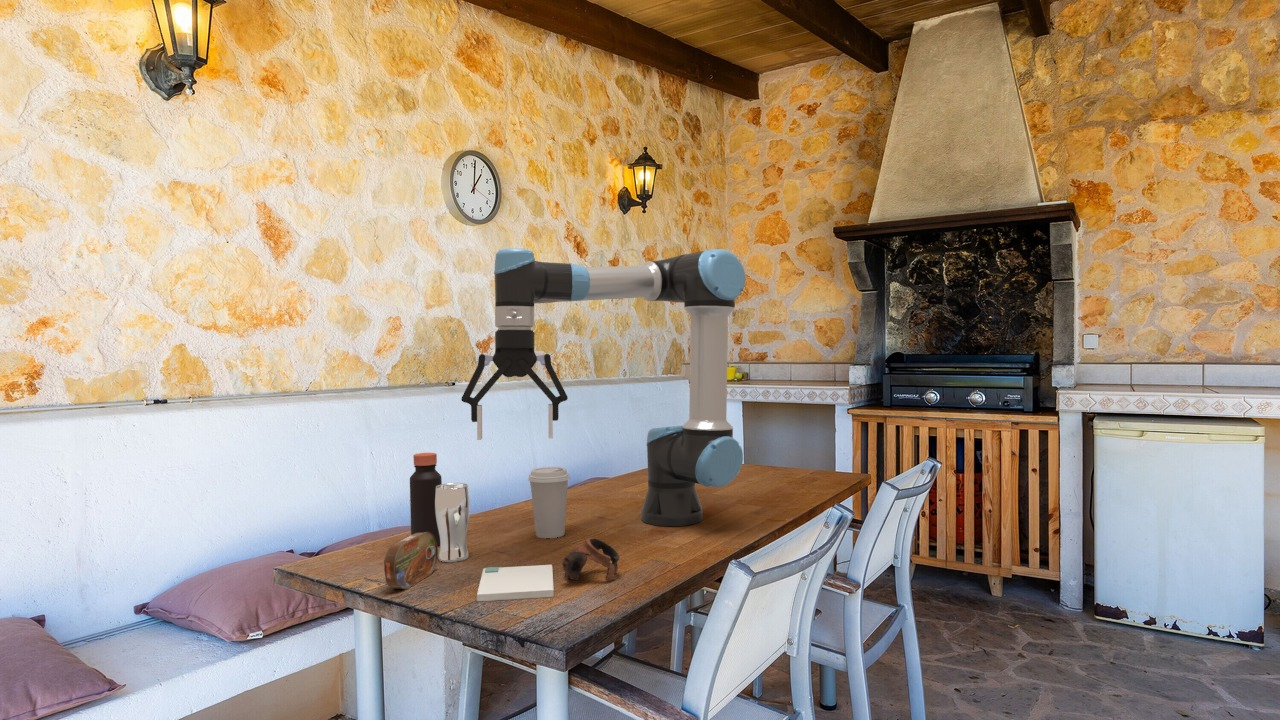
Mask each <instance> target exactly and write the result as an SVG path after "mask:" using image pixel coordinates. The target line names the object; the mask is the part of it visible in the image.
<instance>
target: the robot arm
mask: <svg viewBox="0 0 1280 720" xmlns="http://www.w3.org/2000/svg"><path fill="white" fill-rule="evenodd" d="M493 274H494V293H495V294H494V296H495V298H494V299H495V303H494V323H495V324H494V326H495V327H496V328H497V330H496V331H495V332H494V333H495V334H494V335H495V336H494V338H495V339H494V340H495V341H494V343H495V344H494V349H495V350H494V354H493V355H488V354H484V353H481V354H479V355H478V359H477V360H478V361H477V366H476V368H475V370H474V373H473V374H472V376H471V377H470V380H469V382H468V383H467V386H466V388H465V390H464V392H463V394H462V396H461V401H462V402H463V403H466V404H469V405H470V412H471V413H470V414H471V415H470V416H471V417H470V419H471V422H472V423H477V424H476V430H477V431H476V433H477V435H476V436H477V437H476V440H477V441H479V440H482V439H483V404H479V402H481V400H482V399H483V398H484V396H485V395H486V394H487V393H488V392H489V391H490V390H491V388H492V387H493V386H494V385H495V383H496V382H497V381H498V380H499V379H500V378H501V377H502V375H503V376H504V377H505V378H512V377H517V378H524V377H526V376H527V375H528V377H529V378H530V379H531V380H532V381H533V382H534V383H535V384H536V385H537V387H538V388H539V389H540V390H541V391H542V392H543V394H544V395H545V396H546V397H547V398H548V399H549V401H550V402H551V403H548V407H547V408H548V410H547V411H548V415H547V417H548V439H553V438H554V428H553V427H554V426H553V425H554V423H553V422H555V421H558V420H559V405H560V404H561V403H562V402H566V401H568V398H569V397H568V395H567V393H566V391H565V388H564V387H563V385H562V383H561V381H560V380H559V379H560V378H558V376H557V373H556V371H555V369H554V367H553V365H552V359H551V355H550V354H549V353H545V354H542V355H541V354H540V355H536V353H535V332H534V330H532V328H534V327H535V304H549V303H550V304H551V303H565V302H583V301H586V302H587V301H602V300H603V301H604V300H621V299H636V298H643V299H644V300H645V301H647V302H672V303H684V304H683V305H684V306H683V307H684V310H685V311H686V313H687V314H689V315H690V339H689V340H690V344H689V345H690V346H689V348H690V350H689V351H690V354H689V405H688V407H689V410H688V411H689V414H688V417H689V419H688V420H687V421H686V422H685V423H684V424H683V425H675V426H665V427H654V428H651V429H649V430H648V432H647V438H646V447H647V448H646V452H647V453H646V454H647V491H646V494H645V498H644V502H643V505H642V508H641V515H640V516H641V521H642V522H643V523H645V524H649V525H652V526H660V527H682V526H689V525H694V524H698V523H700V522H702V521H703V519H704V514H703V513H704V512H703V511H704V510H703V507H702V504H701V501H700V498H699V495H698V492H697V490H696V489H697V488H696V484H698V485H701V486H704V487H707V488H708V487H713V488H721V487H725V486H727V485H729V484H730V483H732V482H733V481H734V479H735V478H736V477H737V476H738V475H739V472H740V471H741V469H742V466H743V463H744V462H743V460H744V452H743V448H742V446H741V445H740V443H739V441H738V440H736V438H734V437H733V436H734V431H733V429H734V427H733V426H732V424H730V423H729V421H728V420H727V407H728V405H727V404H728V403H727V400H728V399H727V398H728V397H727V396H728V339H729V338H728V335H729V333H728V331H729V329H728V328H729V327H728V325H729V322H728V321H729V316H730V314H732V313H733V311H735V306H736V304H735V303H736V300H737V298H738V297H739V296H741V294H742V292H743V291H744V290H745V285H746V272H745V269H744V266H743V264H742V262H741V260H739V259H738V257H737V256H736V255H735V254H734V253H733V252H731V251H730V250H727V249H724V248H723V249H722V248H721V249H720V248H719V249H718V248H717V249H716V248H715V249H714V248H713V249H706V250H702V251H701V250H700V251H698V252H691V253H686V254H680V255H676V256H673V257H668V258H665V259H659V260H658V259H657V260H649V261H645V262H643V263H642V264H641V265H624V266H623V265H622V266H621V265H617V266H584V265H582V264H577V263H576V264H575V263H571V262H569V263H567V262H564V263H563V262H547V261H546V262H545V261H538V260H536V259H535V253H534V251H533V250H531V249H526V248H517V247H509V248H503V249H499V250H498V251H497V252H496V253H495V259H494V271H493ZM537 361H538V362H540V364H541V366H545V369H546V371H547V373H548V375H549V377H550V379H551V381H552V383H553V385H554V386H555V389H556V390H557V392H558V394H559V395H557V396H556V395H555V394H554V393H553V392H552V390H551V389H550V388H549V387H548V386H547V385H546V384H545V382H544V381H543V380H542V378H540V377H539V375H538V374H537V373H536V372H535V371H534V370H533V367H534V366H535V365H536V363H537ZM491 362H493V363H494V365H495V366H496V368H497V370H496V371H495V372H494V373H493V375H492V376H491V377H490V378H489V380H487V382H486V383H485V384H484V385H483V387H481V389H480V390H479V391H478V392H477V393H476V394H475V396H474V397H472V396H471V395H472V393H473V391H475V387H476V385H477V384H478V382H479V380H480V377H481V375H482V373H483V371H484V370H485V367H488V366H489V365H490V363H491Z"/></svg>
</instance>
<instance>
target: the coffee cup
mask: <svg viewBox="0 0 1280 720" xmlns="http://www.w3.org/2000/svg"><path fill="white" fill-rule="evenodd" d="M567 471H568V470H567V468H565V467H562V466H545V467H536V468H533V469H531V471H530V474H528V478H527V480H528V482H529V483H530V493H531V500H532V501H531V502H532V509H533V510H532V511H533V519H534V529H535V537H537V538H539V539H546V538H550V539H557V537H558V538H561V537H563V536H565V533H566V532H565V531H566V515H567V514H566V513H567V499H568V484H569V480H570V479H571V477H570V476H571V475H570V474H569V473H568V472H567Z"/></svg>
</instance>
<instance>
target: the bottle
mask: <svg viewBox="0 0 1280 720" xmlns="http://www.w3.org/2000/svg"><path fill="white" fill-rule="evenodd" d="M412 457H413V467H414V469H415V470H414V472H413V473H412V475H410V477H409V502H410V503H409V506H410V507H409V508H410V536H411V535H413V534H415V533H424V532H430V533H431V534H433V536H434V537H435V539H436V542H437V547H440V537H439V532H438V527H437V522H436V516H435V487H436V486H437V485H441V484H443V481H442V480H443V479H442V475H441V474H440V473H439V472H438V471H437V470H436V467H437V466H438V465H437V463H438V459H437V458H438V454H437V453H435V452H421V453H420V452H419V453H415V454H413V456H412Z"/></svg>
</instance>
